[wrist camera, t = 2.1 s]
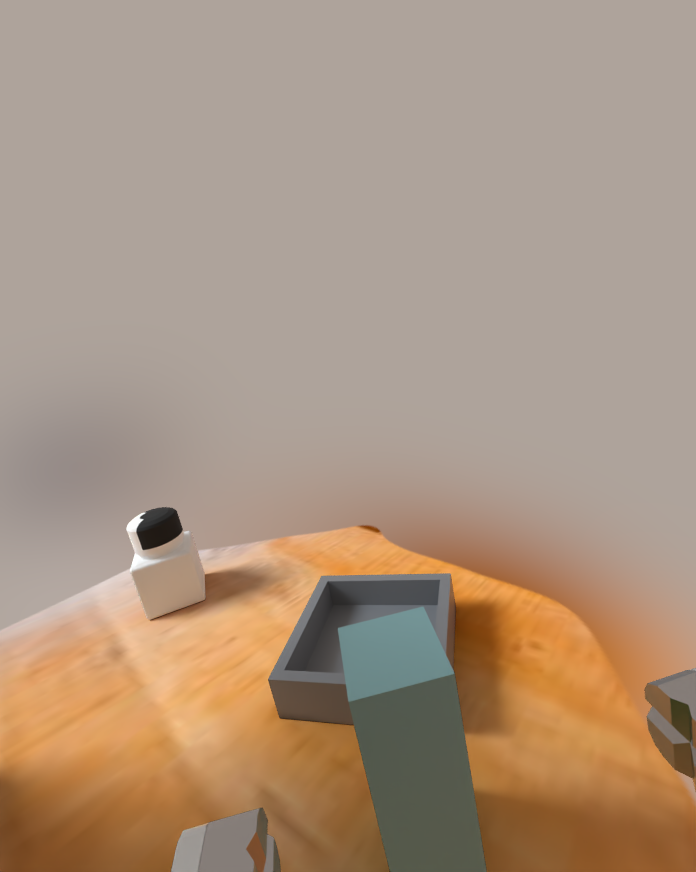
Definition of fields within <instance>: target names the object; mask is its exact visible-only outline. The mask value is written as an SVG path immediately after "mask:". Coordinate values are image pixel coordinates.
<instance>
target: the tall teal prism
mask: <svg viewBox="0 0 696 872" xmlns="http://www.w3.org/2000/svg"><path fill="white" fill-rule="evenodd" d="M338 634H339V641H340V648H341V654H342V661H343V668H344V675H345V682H346V689H347V696H348V702H349V706H350V710H351V715H352V719H353V723H354V727H355V731H356V735H357V739H358V743H359V747H360V751H361V755H362V760H363V764H364V768H365V772H366V776H367V780H368V784H369V788H370V792H371V796H372V800H373V805H374V809H375V813H376V817H377V821H378V825H379V829H380V833H381V837H382V841H383V845H384V850H385V854H386V858H387V862H388V866H389V870H390V872H487V870H486V864H485V858H484V851H483V845H482V839H481V833H480V827H479V821H478V814H477V808H476V802H475V796H474V790H473V783H472V777H471V771H470V765H469V759H468V752H467V746H466V740H465V734H464V728H463V722H462V715H461V709H460V703H459V697H458V691H457V684H456V678H455V673H454V671H453V669H452V667H451V665H450V662H449V660H448V658H447V656H446V654H445V652H444V650H443V647H442V645H441V643H440V641H439V639H438V637H437V635H436V632H435V630H434V628H433V626H432V624H431V622H430V620H429V618H428V615H427V613H426V611H425V609H424V607H419V608H415V609H411V610H407V611H403V612H399V613H395V614H391V615H387V616H384V617H380V618H376V619H372V620H368V621H364V622H360V623H356V624H352V625H348V626H344V627H340V628H338Z"/></svg>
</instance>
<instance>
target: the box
mask: <svg viewBox="0 0 696 872" xmlns="http://www.w3.org/2000/svg"><path fill="white" fill-rule="evenodd" d="M419 607H424V609H425V611H426V613H427V615H428V618H429V620H430V622H431V624H432V626H433V628H434V630H435V632H436V635H437V637H438V639H439V641H440V643H441V645H442V647H443V650H444V652H445V654H446V656H447V658H448V660H449V662H450V665H451V667H452V669H453V671H454V643H455V616H456V605H455V599H454V592H453V586H452V579H451V574H399V575H345V576H321V578H320V580H319V582H318V584H317V586H316V588H315V590H314V592H313V594H312V596H311V598H310V599H309V601H308V603H307V605H306V607H305V609H304V611H303V613H302V615H301V617H300V619H299V621H298V623H297V625H296V626H295V628H294V630H293V632H292V634H291V636H290V638H289V640H288V642H287V644H286V646H285V648H284V650H283V652H282V653H281V655H280V657H279V659H278V661H277V663H276V665H275V667H274V669H273V671H272V673H271V675H270V677H269V679H268V681H269V684H270V688H271V691H272V694H273V698H274V701H275V704H276V708H277V711H278V714H279V718H283V719H294V720H305V721H316V722H327V723H339V724H350V725H354V723H353V719H352V715H351V710H350V706H349V702H348V696H347V689H346V682H345V675H344V668H343V661H342V654H341V648H340V641H339V634H338V628H340V627H344V626H348V625H352V624H356V623H360V622H364V621H368V620H372V619H376V618H380V617H384V616H387V615H391V614H395V613H399V612H403V611H407V610H411V609H415V608H419Z"/></svg>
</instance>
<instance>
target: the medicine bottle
mask: <svg viewBox="0 0 696 872" xmlns="http://www.w3.org/2000/svg"><path fill="white" fill-rule="evenodd" d="M127 532H128V535H129V538H130V540H131V543H132V546H133V549H134V551H135V556H134V559H133V563H132V566H131V569H130V574H131V577H132V580H133V582H134V585H135V588H136V590H137V593H138V596H139V598H140V601H141V604H142V607H143V609H144V612H145V615H146V617H147V619H148V620H151V619H154V618H157V617H159V616H162V615H165V614H168V613H170V612H173V611H176V610H179V609H181V608H184V607H187V606H190V605H192V604H195V603H198V602H201V601H203V600H205V598H206V595H205V573H204V570H203V567H202V563H201V560H200V557H199V554H198V551H197V548H196V545H195V542H194V538H193V535H192V532H191V531H186V532H183V529H182V526H181V523H180V520H179V517H178V514H177V511H176V510H175V509H173V508H166V507H165V508H164V507H162V508H156V509H152V510H149V511H146V512H144V513H142V514H140V515H138V516H137V517H135V518H134V519H133V520H132V521H130V522H129V524H128V526H127Z"/></svg>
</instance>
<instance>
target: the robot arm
mask: <svg viewBox="0 0 696 872" xmlns="http://www.w3.org/2000/svg"><path fill="white" fill-rule="evenodd" d="M645 699H646V700H647V701H648V702H649V703H650V704H651V705H652V708H651V709H650V712H649V713H648V715H647V722H648V730H649V732H650V734H651V736H652V739H653V741H654V743H655V745H656V747H657V748H658V749H659V751H660V752H661V754H662V755H663V757H664V758H665V759H666V760H667V761H668V762H669V764H670V765H671V766H672V767H673V768H674V769H675V770H677V771H679V772H681V773H683V774H685V775H687V776H689V777H691V778H693V782H694V786H695V790H696V668H694V669H691V670H686V671H683V672H680V673H677V674H674V675H671V676H668V677H665V678H662V679H659V680H656V681H653V682H650V683H648V684H647V685H646V687H645ZM267 827H268V820H267V817H266V814H265V812H264V809H263V808H258V809H255V810H251V811H248V812H244V813H241V814H237V815H234V816H230V817H227V818H223V819H220V820H216V821H213V822H209V823H206V824H203V825H200V826H196V827H193V828H190V829H186V830H183V832H182V834H181V836H180V838H179V840H178V843H177V847H176V851H175V856H174V860H173V864H172V869H171V872H281V868H280V859H279V855H278V850H277V846H276V843H275V840H274V838H273V837H272V836H270V835H268V834H267Z"/></svg>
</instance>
